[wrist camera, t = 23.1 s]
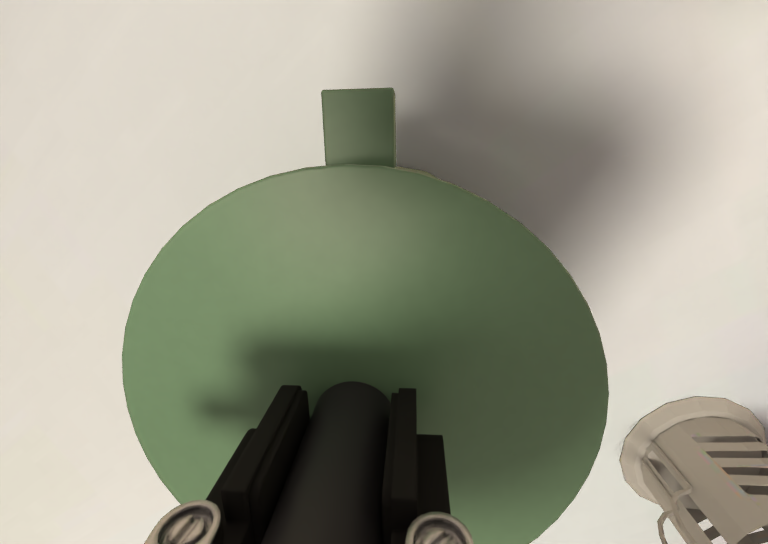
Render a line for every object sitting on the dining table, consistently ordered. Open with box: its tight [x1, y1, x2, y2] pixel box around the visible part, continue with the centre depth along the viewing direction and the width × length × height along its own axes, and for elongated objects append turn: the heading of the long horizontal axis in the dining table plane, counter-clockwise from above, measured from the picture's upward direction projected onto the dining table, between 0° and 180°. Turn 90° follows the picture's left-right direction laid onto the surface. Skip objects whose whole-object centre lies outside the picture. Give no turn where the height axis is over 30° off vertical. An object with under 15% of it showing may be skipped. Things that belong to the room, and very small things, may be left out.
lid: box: [122, 164, 609, 544], centre depth 10 cm, size 16×16×7 cm
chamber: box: [321, 88, 438, 179], centre depth 20 cm, size 15×20×12 cm
